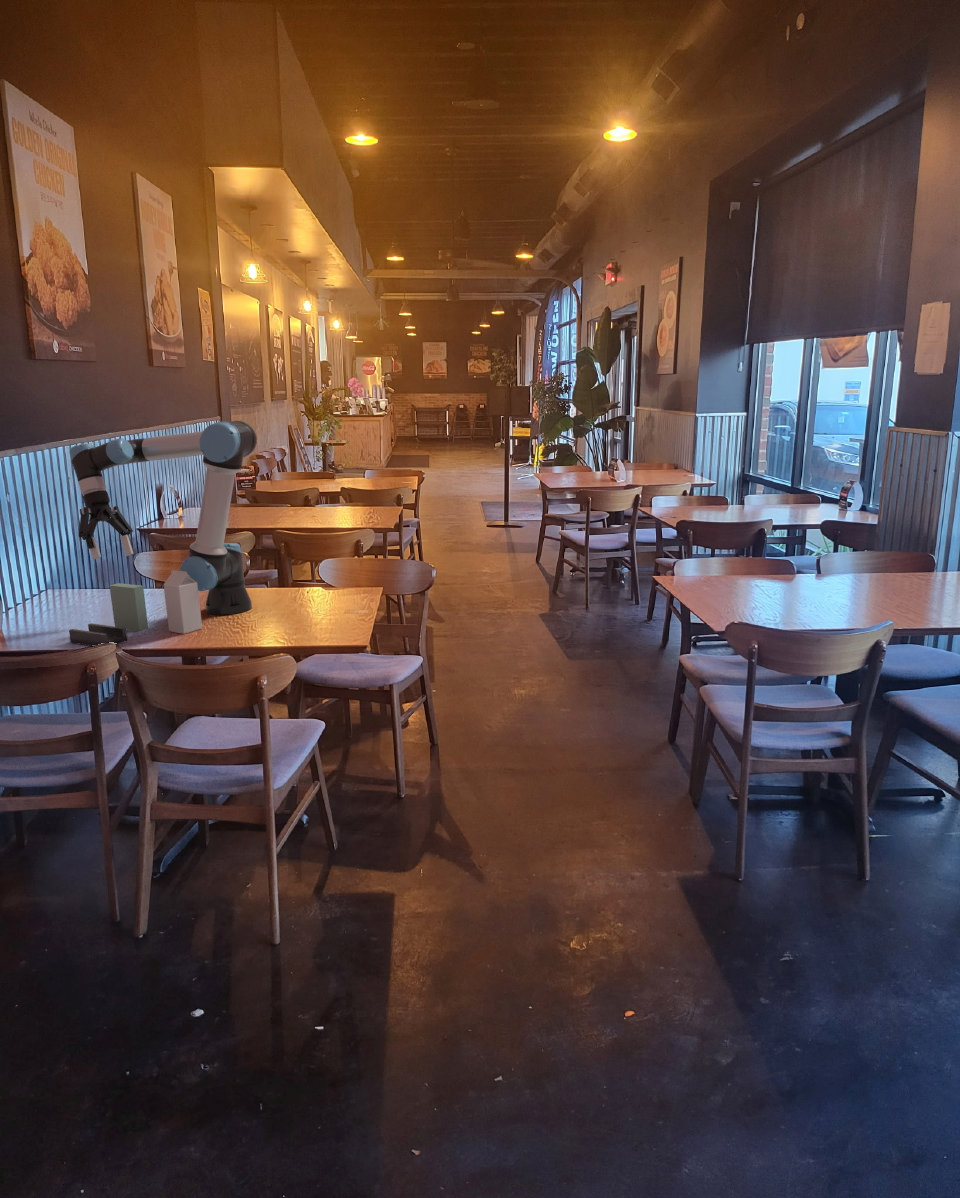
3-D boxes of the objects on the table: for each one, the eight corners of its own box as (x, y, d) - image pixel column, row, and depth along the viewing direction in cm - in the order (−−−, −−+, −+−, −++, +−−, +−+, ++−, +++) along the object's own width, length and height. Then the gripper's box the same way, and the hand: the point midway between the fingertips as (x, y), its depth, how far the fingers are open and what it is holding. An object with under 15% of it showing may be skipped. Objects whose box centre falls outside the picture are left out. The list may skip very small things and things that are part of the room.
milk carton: (184, 634, 261) (177, 574, 256) (168, 631, 264) (161, 572, 260) (202, 628, 266) (195, 569, 262) (187, 626, 270) (180, 567, 266)
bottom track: (127, 640, 255) (125, 628, 254) (105, 648, 249) (103, 635, 248) (93, 635, 262) (91, 623, 261) (70, 642, 255) (68, 629, 254)
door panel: (148, 628, 268) (143, 585, 265) (139, 631, 265) (134, 588, 262) (124, 625, 273) (118, 583, 270) (115, 628, 270) (109, 585, 267)
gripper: (115, 496, 284) (134, 556, 284) (53, 496, 261) (74, 563, 261) (132, 489, 281) (150, 550, 281) (71, 489, 258) (91, 556, 258)
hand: (113, 556), depth 271 cm, fingers open, 13 cm apart
